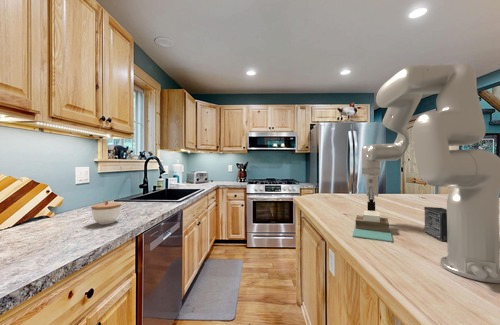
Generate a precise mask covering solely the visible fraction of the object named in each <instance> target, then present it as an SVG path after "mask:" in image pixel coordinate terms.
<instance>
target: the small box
mask: <svg viewBox="0 0 500 325" xmlns="http://www.w3.org/2000/svg"><path fill="white" fill-rule="evenodd" d="M423 209H424V233H425V234H427V235H428V236H430V237H432V238H434V239H436V240H438V241H440V242H447V208H443V207H437V206H435V207H433V206H431V207H430V206H424V207H423Z"/></svg>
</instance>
